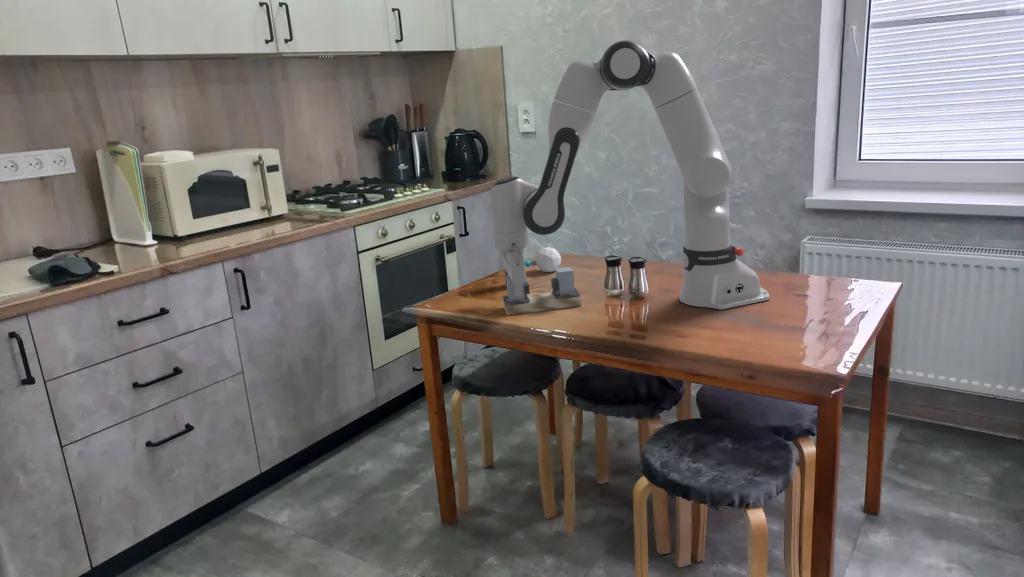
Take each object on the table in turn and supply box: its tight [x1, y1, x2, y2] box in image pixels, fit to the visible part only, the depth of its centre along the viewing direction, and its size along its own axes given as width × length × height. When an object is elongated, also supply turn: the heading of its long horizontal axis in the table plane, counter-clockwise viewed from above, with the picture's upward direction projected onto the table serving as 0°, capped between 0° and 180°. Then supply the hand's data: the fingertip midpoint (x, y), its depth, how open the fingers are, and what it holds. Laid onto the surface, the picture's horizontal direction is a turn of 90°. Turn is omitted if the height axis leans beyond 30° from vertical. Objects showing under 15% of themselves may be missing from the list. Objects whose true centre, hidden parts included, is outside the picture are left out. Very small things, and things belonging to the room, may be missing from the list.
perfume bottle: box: [524, 246, 562, 273], centre depth 222 cm, size 8×8×12 cm
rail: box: [502, 287, 582, 316], centre depth 189 cm, size 20×7×3 cm, turn 98°
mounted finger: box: [550, 266, 575, 296], centre depth 188 cm, size 6×4×7 cm
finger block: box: [505, 274, 531, 302], centre depth 187 cm, size 6×4×7 cm
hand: (515, 290), depth 187 cm, fingers open, 8 cm apart
